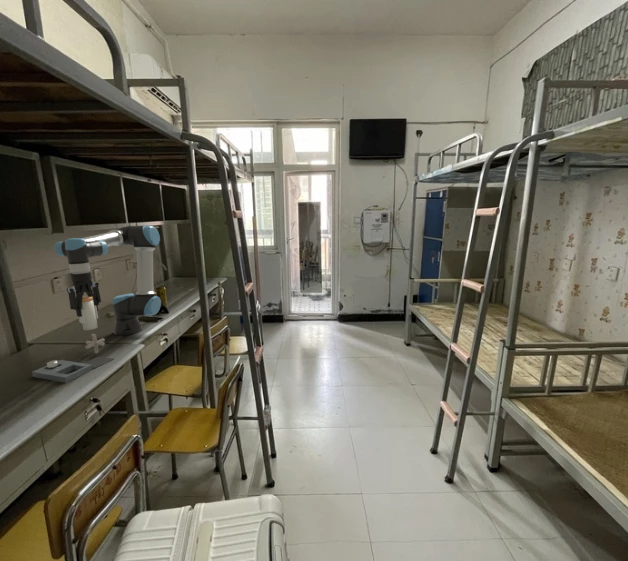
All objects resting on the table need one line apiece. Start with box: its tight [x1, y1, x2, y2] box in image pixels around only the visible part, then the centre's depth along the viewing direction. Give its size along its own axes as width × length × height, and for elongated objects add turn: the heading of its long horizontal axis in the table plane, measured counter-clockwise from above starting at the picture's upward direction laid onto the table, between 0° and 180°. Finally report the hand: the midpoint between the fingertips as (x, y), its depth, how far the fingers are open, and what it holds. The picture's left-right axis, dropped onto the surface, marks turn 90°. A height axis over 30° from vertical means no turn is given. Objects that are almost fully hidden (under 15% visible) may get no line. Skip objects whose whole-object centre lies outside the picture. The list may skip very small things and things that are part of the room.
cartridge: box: [81, 295, 98, 331], centre depth 147 cm, size 6×6×15 cm
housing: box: [32, 359, 94, 384], centre depth 142 cm, size 12×20×2 cm, turn 73°
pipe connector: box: [85, 333, 106, 354], centre depth 162 cm, size 10×10×10 cm
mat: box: [83, 356, 115, 370], centre depth 152 cm, size 10×10×1 cm
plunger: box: [46, 359, 59, 370], centre depth 143 cm, size 4×4×4 cm
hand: (89, 320), depth 147 cm, fingers closed on cartridge, 6 cm apart
